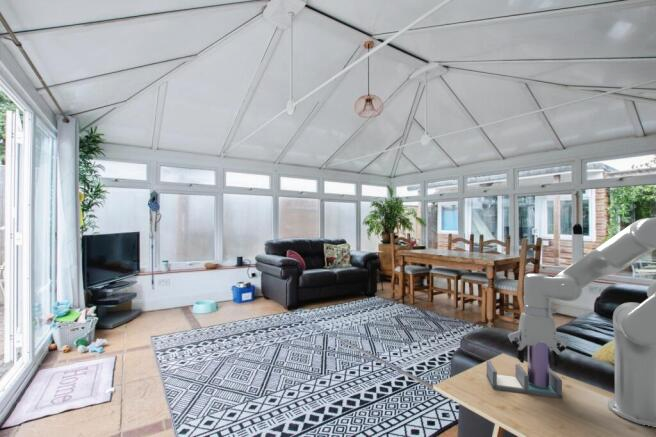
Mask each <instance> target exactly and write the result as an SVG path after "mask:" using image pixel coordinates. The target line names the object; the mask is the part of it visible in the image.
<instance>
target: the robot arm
mask: <svg viewBox="0 0 656 437" xmlns="http://www.w3.org/2000/svg"><path fill="white" fill-rule="evenodd" d="M655 250H656V217H647V218H646V217H645V218H640V219H637V220H636V221H634V222H632V223H631V224H629V225H628V226H626V227H625V228H624V229H622V230H620V231H619V232H617V233H616V234H615V235H614V236H612V237H611V238H609V239H607V240H606V241H605V242H603V243H602V244H600V245H598V246H597V247H596V248H594V249H593V250H591V251H589V252H588V253H587V254H586V255H584V256H583V257H582V258H579V260H577V261H575V262H574V263H572V264H570V265H569V266H568V267H566V268H565V269H563V270H562V271H560V272H559V273H558V274H556V275H555V276H549V275H548V274H543V273H534V272H533V273H526V274H525V275H524V276H523V297H524V298H523V299H524V300H523V301H524V302H523V312H521V314H520V317H519V322H518V330H516V331H513V332H511V333H508V334H507V337H508V338H509V341H510V342H511V344H512V345H513V346H514V347H515V349H516V358H517V360H518V361H519V362H520V363H523V364H524V363H525V362H524V361H525V359H524V358H525V356H524V355H525V354H524V353H525V351H524V348H526V346H527V347H528V346H535V345H536V344H537V343H539V342H540V341H544V343H545V344H546V345H547V347H548V348H549V349H551V351H550V364H551V365H553V366H554V367H556V368H557V367H558V364H560V355H562V352H564V351H565V350H566V348H567V346H568V345H569V344H570V342H569V341H568V340H567V339H565V338H564V337H561V336H560V335H558V334H557V328H556V323H555V319H554V317H553V314H556V313H557V310H556V309H555V308H552V299H556V300H559V301H562V302H574V301H576V300H578V299H580V298H581V296H582V293H583V289H584V288H585V287H587V286H589V285H590V284H591V283H594V282H595V281H597V280H599V279H600V278H602V277H605V276H609V275H613V274H617V273H619V272H622V271H623V270H625V269H627V268H628V267H630V266H631V265H633V264H635V263H636V262H637V261H639V260H641V259H643V258H644V257H645V256H648V254H651V253H652V252H653V251H655ZM646 296H647V298H646V299H645V300H643V301H642V302H641V303H639V302H629V301H628V302H624V303H622V304H620V305H618V306H617V307H616V308H615V310H614V311H613V315H612V327H613V334H614V335H613V338H614V398H611V399H609V400H608V401H607V406H608V408H609V409H610V410H611V411H612V413H614V414H616V415H617V416H618V417H621V418H623V419H625V420H628V421H630V422H632V423H635V424H638V425H641V424H642V426H645V425H648V426H647V427H649V426H654V427H653V428H655V426H656V280H654V281H653V282H652V283H651V284H649V286H648V287H647V290H646ZM517 337H518V340H519V341H518V342H517V341H516V339H515V338H517ZM558 341H559V342H560V344H559V345H558Z"/></svg>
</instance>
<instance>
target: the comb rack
mask: <svg viewBox="0 0 656 437" xmlns="http://www.w3.org/2000/svg"><path fill="white" fill-rule="evenodd" d="M486 378H487V379H488V382H489V384H490V386H491V388H492V389H493V390H494V389H495V390H501V391H508V392H509V391H510V392H516V393H522V394H523V393H524V394H530V395H536V396H543V397H551V398H557V399H563V380H562V379H561V378H560V377H559V376H558V374H556V372H554V371H553V370H552V368H550V367H549V387H548V388H538V387H535V386H533V385H531V384H530V383H529V376H528V372H526V371H525V369H524V368H523V367H522V366H521V365H520V363H515V376H512V375H504V374H498V372H497V370H496V368H495V367H494V364H493V363H492V362H491V360H488V359H487V360H486Z"/></svg>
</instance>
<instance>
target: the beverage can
mask: <svg viewBox="0 0 656 437" xmlns="http://www.w3.org/2000/svg"><path fill="white" fill-rule="evenodd" d="M549 368H550V348H548V347H547V345H546V344H545V343H544V341H540V342H539V343H537V344H536V345H535V346H527V375H528V376H529V383H530V384H531V385H533V386H535V387H538V388H548V387H549Z"/></svg>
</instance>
